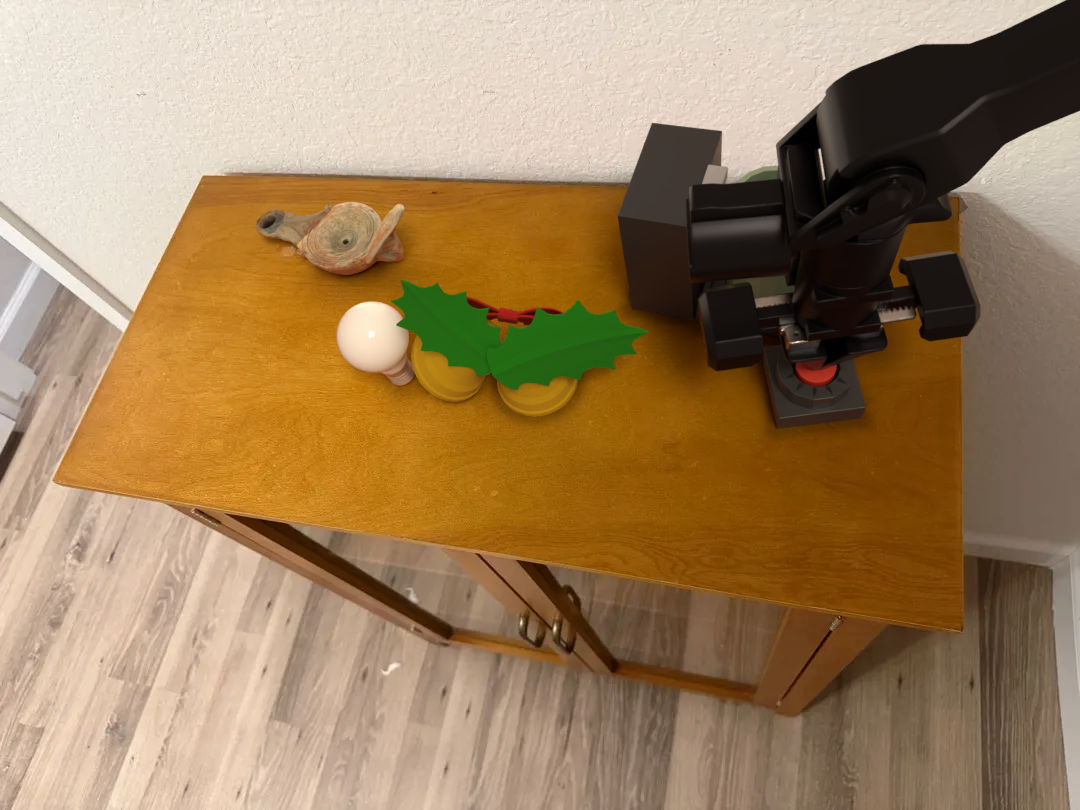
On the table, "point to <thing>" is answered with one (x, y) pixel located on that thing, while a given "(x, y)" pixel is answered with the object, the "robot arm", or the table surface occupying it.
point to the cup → (764, 284)
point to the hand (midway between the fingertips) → (816, 364)
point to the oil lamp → (338, 235)
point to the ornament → (508, 347)
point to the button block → (810, 393)
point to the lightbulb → (375, 341)
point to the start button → (814, 375)
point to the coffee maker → (667, 218)
